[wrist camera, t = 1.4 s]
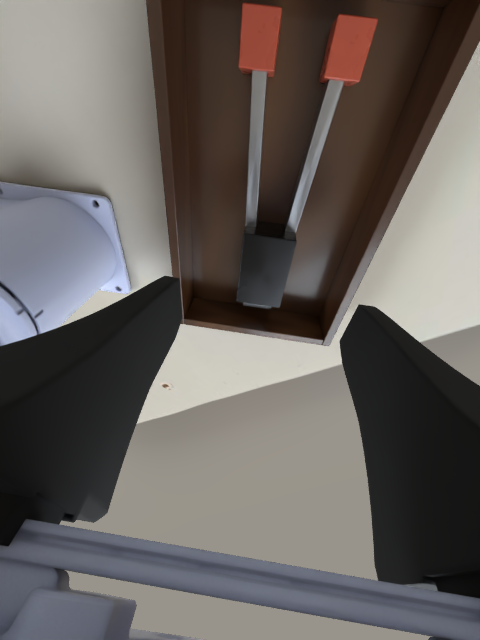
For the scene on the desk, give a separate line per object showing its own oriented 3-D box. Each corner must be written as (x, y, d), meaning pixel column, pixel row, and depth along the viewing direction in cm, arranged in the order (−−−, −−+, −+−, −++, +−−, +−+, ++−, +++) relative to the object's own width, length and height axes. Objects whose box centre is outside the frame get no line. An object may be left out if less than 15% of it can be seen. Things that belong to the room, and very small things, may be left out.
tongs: (367, 30, 10) (390, 5, 8) (288, 303, 20) (290, 325, 18) (246, 15, 11) (238, -13, 8) (225, 294, 20) (220, 314, 18)
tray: (189, 298, 22) (176, 323, 19) (172, -42, 10) (135, -102, 7) (322, 318, 21) (329, 346, 19) (460, -9, 10) (530, -60, 7)
